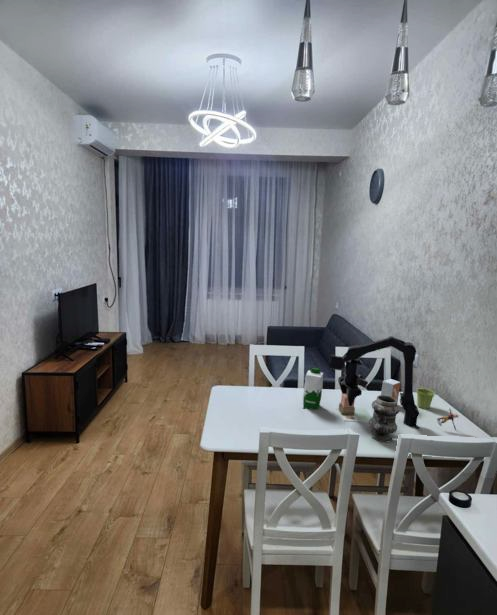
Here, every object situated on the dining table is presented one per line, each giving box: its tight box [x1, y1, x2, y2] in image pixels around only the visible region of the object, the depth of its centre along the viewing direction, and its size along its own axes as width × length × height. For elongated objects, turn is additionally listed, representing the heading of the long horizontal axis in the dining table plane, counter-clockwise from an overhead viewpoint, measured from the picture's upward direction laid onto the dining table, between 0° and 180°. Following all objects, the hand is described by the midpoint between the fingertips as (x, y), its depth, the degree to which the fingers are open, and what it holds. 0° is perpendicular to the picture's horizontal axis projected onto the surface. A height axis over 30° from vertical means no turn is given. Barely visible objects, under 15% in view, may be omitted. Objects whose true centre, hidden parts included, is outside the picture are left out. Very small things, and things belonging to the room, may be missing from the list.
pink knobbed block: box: [340, 393, 356, 408], centre depth 206 cm, size 5×5×6 cm
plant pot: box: [416, 387, 436, 410], centre depth 224 cm, size 9×9×9 cm
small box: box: [380, 378, 401, 404], centre depth 223 cm, size 8×6×13 cm
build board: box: [334, 407, 373, 423], centre depth 206 cm, size 16×16×1 cm
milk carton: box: [302, 367, 324, 410], centre depth 211 cm, size 9×9×20 cm
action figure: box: [436, 408, 459, 431], centre depth 198 cm, size 12×3×9 cm
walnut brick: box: [338, 402, 356, 416], centre depth 207 cm, size 6×6×4 cm
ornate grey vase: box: [368, 394, 401, 443], centre depth 184 cm, size 12×12×18 cm
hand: (347, 402), depth 206 cm, fingers open, 9 cm apart
